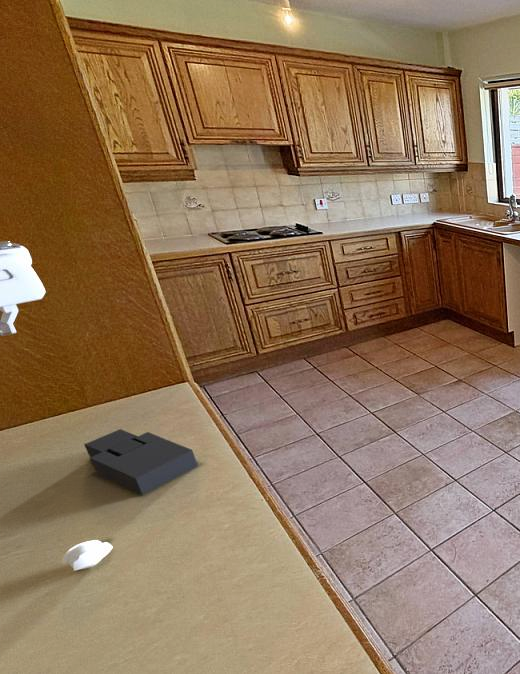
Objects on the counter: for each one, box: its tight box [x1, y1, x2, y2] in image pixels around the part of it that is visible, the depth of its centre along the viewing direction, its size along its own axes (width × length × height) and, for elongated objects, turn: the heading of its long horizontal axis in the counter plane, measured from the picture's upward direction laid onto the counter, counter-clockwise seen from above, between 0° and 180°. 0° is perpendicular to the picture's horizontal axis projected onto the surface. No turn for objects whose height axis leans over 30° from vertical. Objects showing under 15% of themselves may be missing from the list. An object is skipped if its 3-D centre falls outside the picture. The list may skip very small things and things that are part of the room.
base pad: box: [89, 431, 199, 496], centre depth 79 cm, size 12×8×4 cm, turn 69°
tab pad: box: [83, 428, 143, 458], centre depth 81 cm, size 8×5×4 cm, turn 69°
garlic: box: [60, 539, 113, 572], centre depth 62 cm, size 5×3×5 cm
